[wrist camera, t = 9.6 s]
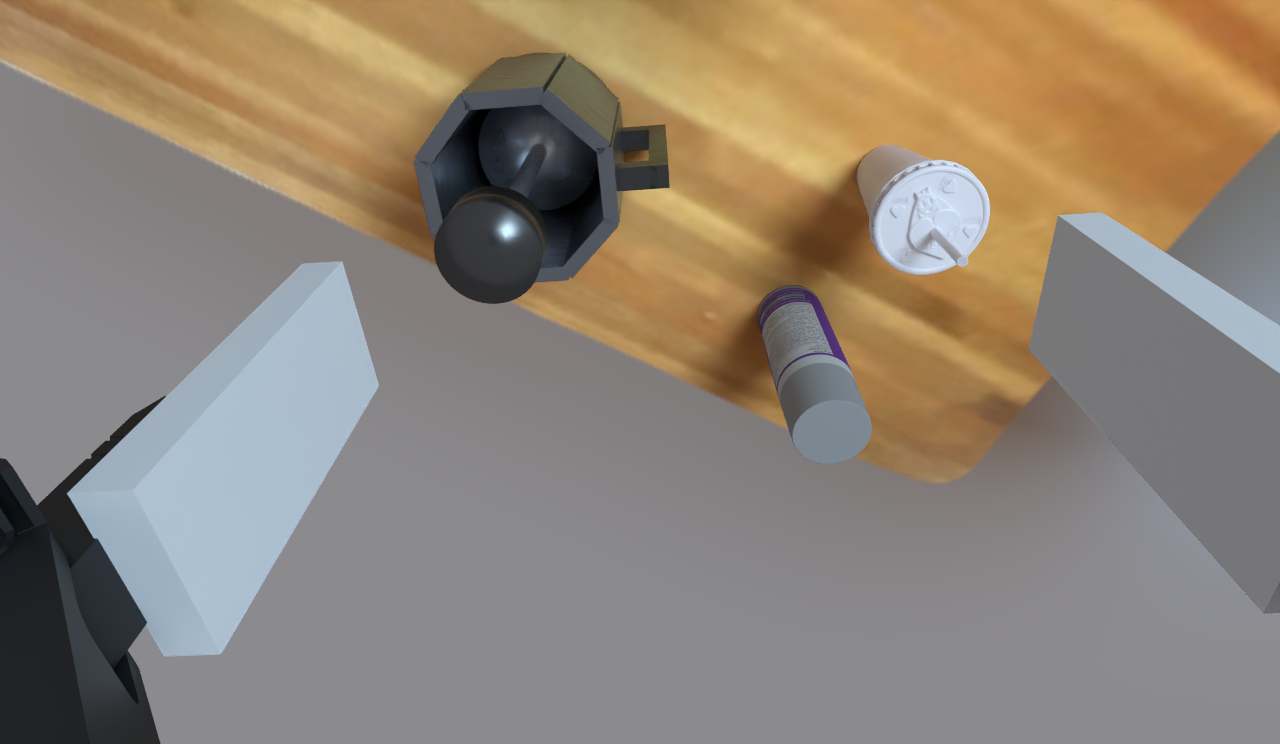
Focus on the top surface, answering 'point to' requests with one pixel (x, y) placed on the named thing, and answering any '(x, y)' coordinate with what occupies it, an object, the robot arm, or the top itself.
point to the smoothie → (921, 209)
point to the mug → (582, 108)
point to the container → (812, 377)
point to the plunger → (512, 203)
